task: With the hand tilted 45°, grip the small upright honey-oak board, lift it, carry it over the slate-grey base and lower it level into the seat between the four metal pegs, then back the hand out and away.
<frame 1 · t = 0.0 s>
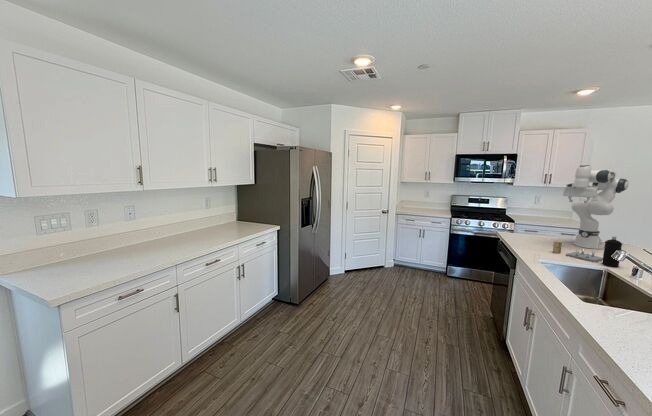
hand: (578, 202, 214), 39 cm above the worktop, tool pointing down, fingers open, 8 cm apart
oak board: (556, 252, 210), on the worktop
peg base: (584, 257, 198), on the worktop
aerosol can: (610, 265, 182), on the worktop
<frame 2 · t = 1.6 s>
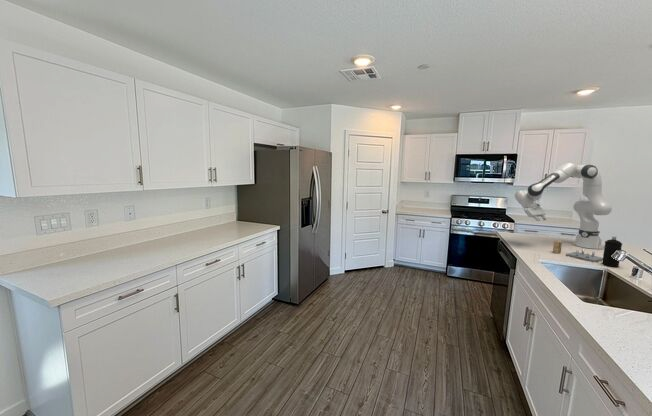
hand: (542, 220, 218), 24 cm above the worktop, tool tilted 45°, fingers open, 8 cm apart
nothing on the worktop moved.
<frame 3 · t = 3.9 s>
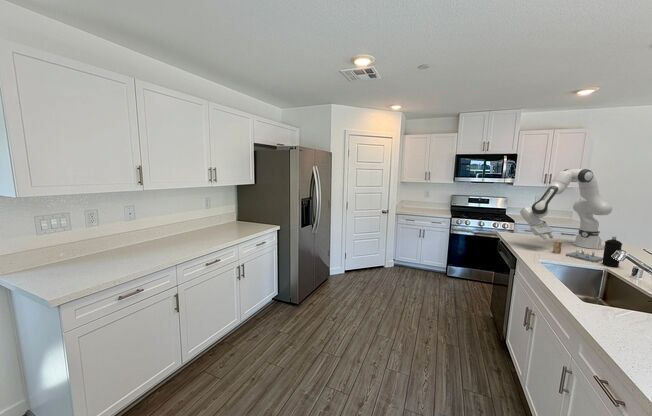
hand: (548, 238, 214), 10 cm above the worktop, tool tilted 45°, fingers open, 8 cm apart
nothing on the worktop moved.
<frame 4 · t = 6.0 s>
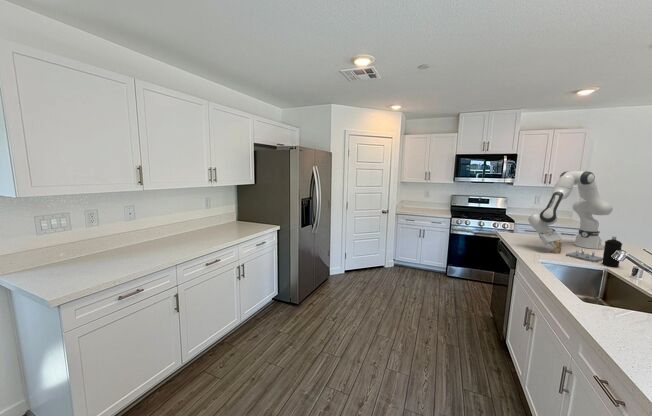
hand: (558, 247, 209), 5 cm above the worktop, tool tilted 45°, fingers closed on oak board, 5 cm apart
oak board: (556, 252, 210), on the worktop, touching gripper
everything else where it was.
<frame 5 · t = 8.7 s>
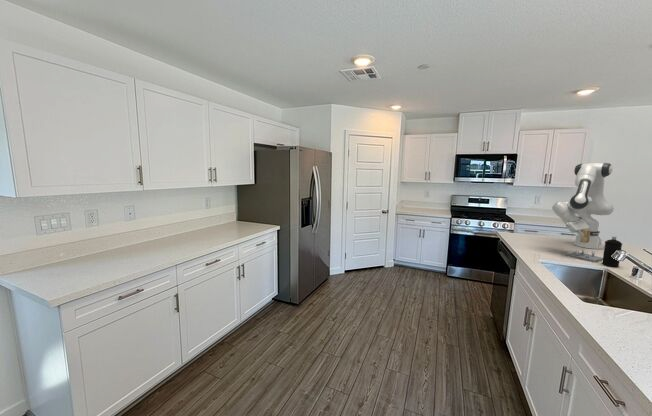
hand: (586, 235, 196), 17 cm above the worktop, tool tilted 45°, fingers closed on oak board, 5 cm apart
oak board: (584, 242, 197), point 12 cm above the worktop, touching gripper
everything else where it was.
when the fingers open (7 cm above the worktop, at t = 11.5 s): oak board stays where it is, resting on peg base.
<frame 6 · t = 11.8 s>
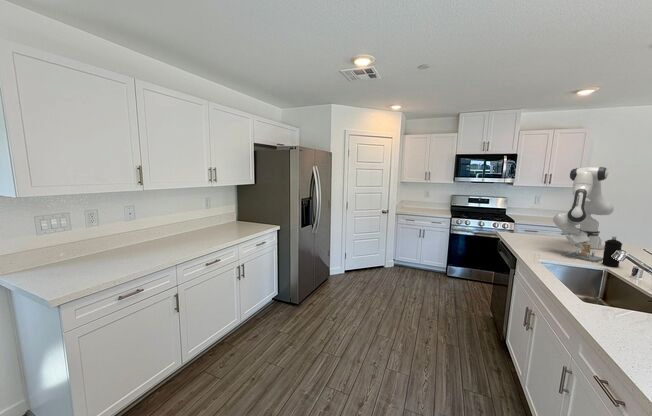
hand: (587, 248, 196), 7 cm above the worktop, tool tilted 45°, fingers open, 7 cm apart
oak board: (584, 255, 198), point 1 cm above the worktop, touching peg base
everything else where it was.
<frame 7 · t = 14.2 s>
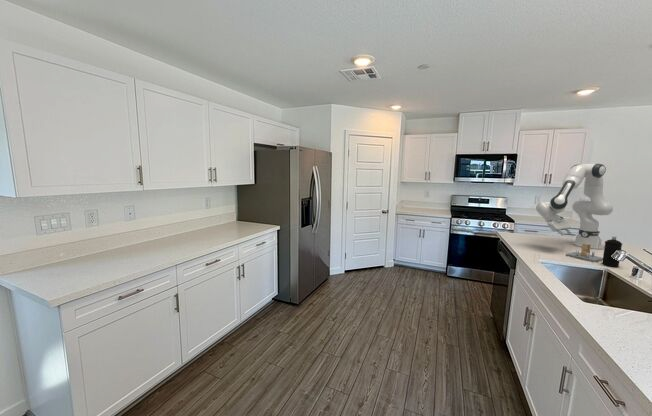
hand: (567, 234, 207), 15 cm above the worktop, tool tilted 45°, fingers open, 8 cm apart
nothing on the worktop moved.
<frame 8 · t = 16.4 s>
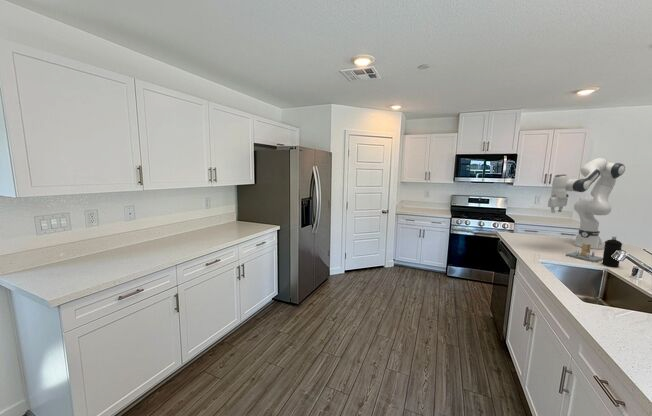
hand: (556, 212, 214), 31 cm above the worktop, tool pointing down, fingers open, 8 cm apart
nothing on the worktop moved.
at the end: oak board 0.1 cm off-centre on the peg base, point 1.5 cm above the peg base's base; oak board tilted 0°; the gripper is holding nothing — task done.
